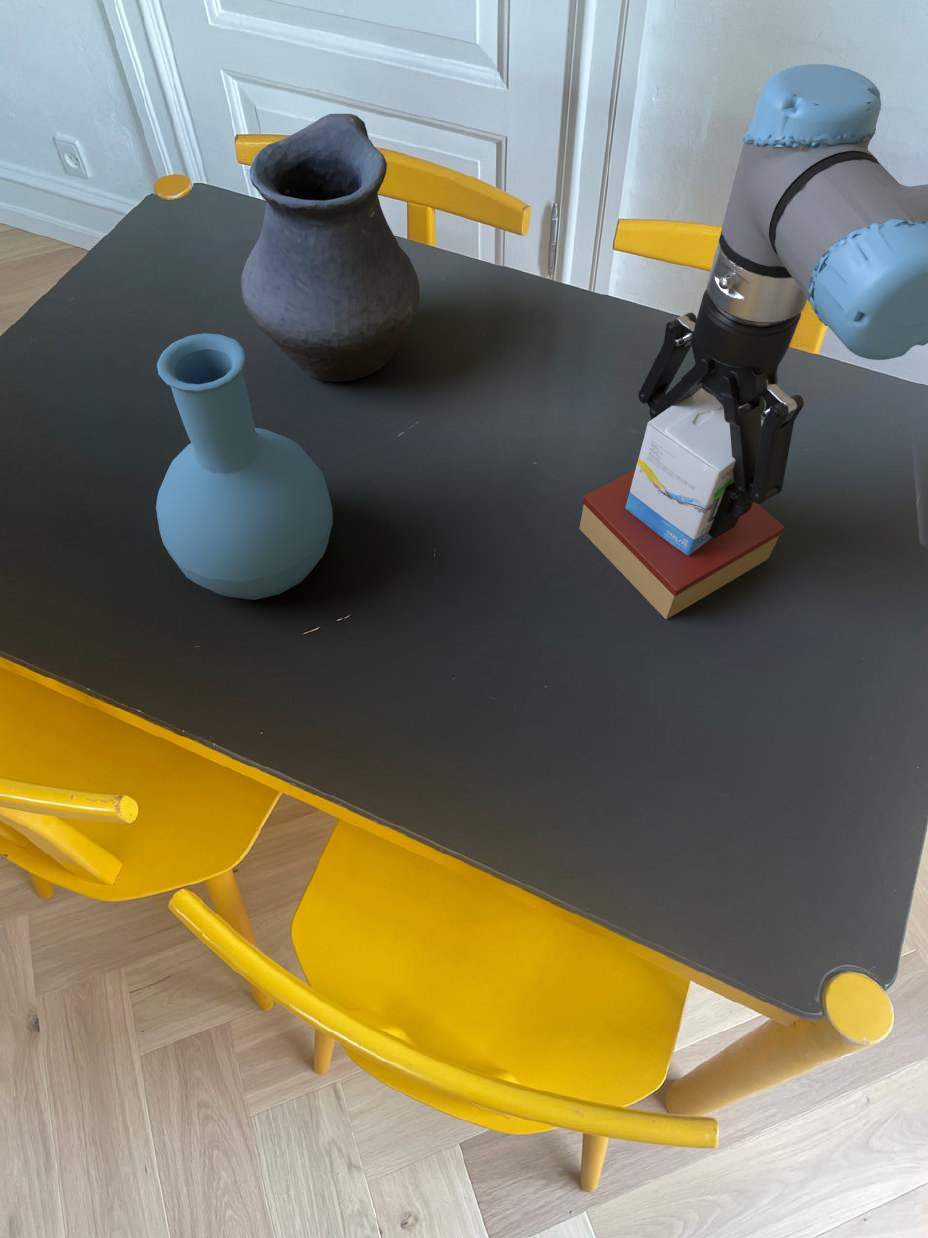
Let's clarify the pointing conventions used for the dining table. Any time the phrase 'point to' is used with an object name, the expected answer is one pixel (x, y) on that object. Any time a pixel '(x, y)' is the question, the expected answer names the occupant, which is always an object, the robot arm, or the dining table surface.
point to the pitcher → (328, 253)
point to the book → (673, 549)
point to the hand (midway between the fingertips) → (687, 498)
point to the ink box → (683, 471)
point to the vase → (236, 482)
